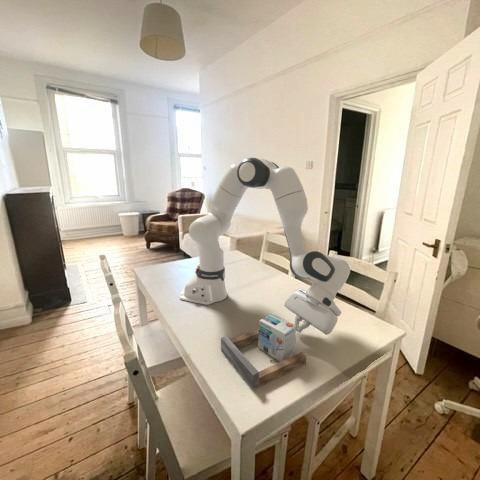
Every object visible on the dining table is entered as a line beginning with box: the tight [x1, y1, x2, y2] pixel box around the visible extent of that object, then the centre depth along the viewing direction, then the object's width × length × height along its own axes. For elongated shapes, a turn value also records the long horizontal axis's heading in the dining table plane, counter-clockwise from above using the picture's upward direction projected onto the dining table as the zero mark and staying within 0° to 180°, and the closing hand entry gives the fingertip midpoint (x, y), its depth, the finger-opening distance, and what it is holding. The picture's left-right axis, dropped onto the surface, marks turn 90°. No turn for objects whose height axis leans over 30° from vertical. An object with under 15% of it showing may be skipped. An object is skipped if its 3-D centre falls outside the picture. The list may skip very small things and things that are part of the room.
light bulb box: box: [257, 312, 297, 362], centre depth 88 cm, size 11×7×11 cm, turn 45°
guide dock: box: [220, 328, 307, 391], centre depth 86 cm, size 20×19×5 cm
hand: (296, 330), depth 93 cm, fingers closed
